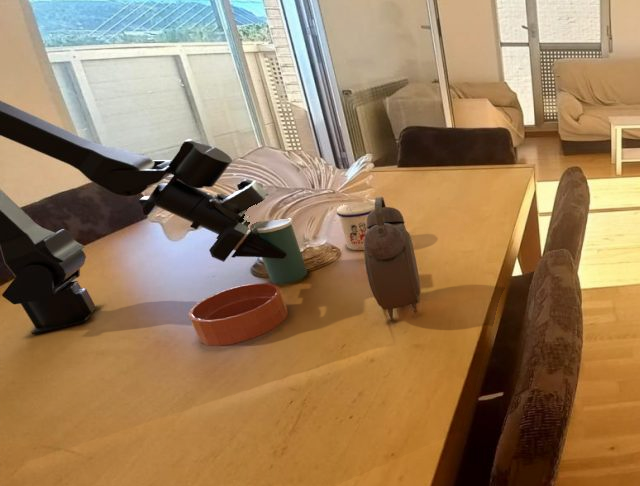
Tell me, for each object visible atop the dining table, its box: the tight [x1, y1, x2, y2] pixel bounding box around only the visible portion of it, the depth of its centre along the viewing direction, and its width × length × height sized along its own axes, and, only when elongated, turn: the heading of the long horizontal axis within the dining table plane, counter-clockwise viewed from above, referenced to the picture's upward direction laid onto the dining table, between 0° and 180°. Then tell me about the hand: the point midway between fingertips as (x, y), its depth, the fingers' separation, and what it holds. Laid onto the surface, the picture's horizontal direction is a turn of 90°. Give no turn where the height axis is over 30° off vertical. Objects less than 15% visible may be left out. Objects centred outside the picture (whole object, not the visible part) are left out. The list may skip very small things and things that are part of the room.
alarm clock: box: [363, 196, 421, 323], centre depth 80 cm, size 15×7×20 cm, turn 23°
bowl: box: [187, 282, 289, 347], centre depth 78 cm, size 12×12×5 cm
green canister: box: [250, 217, 308, 285], centre depth 93 cm, size 7×7×12 cm
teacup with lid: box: [336, 198, 375, 251], centre depth 109 cm, size 12×9×12 cm
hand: (288, 249), depth 93 cm, fingers closed on green canister, 6 cm apart
